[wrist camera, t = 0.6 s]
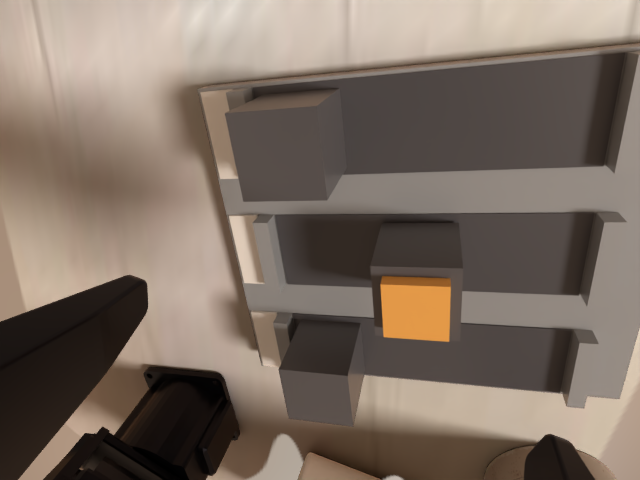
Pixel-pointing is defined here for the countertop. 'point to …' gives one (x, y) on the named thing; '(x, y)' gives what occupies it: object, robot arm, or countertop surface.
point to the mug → (329, 470)
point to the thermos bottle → (509, 467)
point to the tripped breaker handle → (418, 281)
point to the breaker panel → (439, 219)
